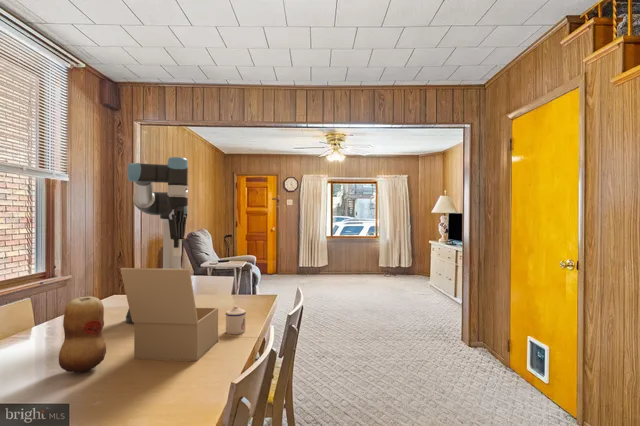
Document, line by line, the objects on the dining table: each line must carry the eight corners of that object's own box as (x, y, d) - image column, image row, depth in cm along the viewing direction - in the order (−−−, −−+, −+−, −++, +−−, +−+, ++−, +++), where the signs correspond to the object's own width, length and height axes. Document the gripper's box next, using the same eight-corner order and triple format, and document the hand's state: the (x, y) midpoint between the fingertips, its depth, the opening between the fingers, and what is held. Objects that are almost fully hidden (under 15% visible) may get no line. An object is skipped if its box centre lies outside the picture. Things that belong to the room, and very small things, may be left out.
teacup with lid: (245, 334, 172) (245, 308, 172) (224, 335, 170) (224, 308, 170) (245, 326, 183) (245, 301, 183) (226, 327, 182) (226, 302, 182)
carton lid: (133, 321, 142) (132, 322, 141) (121, 268, 135) (120, 269, 134) (198, 322, 140) (197, 324, 139) (189, 268, 133) (188, 270, 132)
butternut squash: (71, 383, 121) (71, 304, 122) (51, 374, 129) (51, 299, 129) (114, 368, 133) (114, 296, 133) (93, 360, 140) (94, 292, 140)
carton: (134, 359, 142) (134, 321, 142) (163, 339, 164) (163, 306, 164) (197, 361, 140) (197, 322, 140) (218, 341, 162) (218, 307, 162)
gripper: (179, 196, 146) (179, 258, 146) (193, 197, 159) (193, 254, 159) (160, 195, 147) (160, 257, 147) (176, 196, 160) (176, 253, 160)
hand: (177, 255), depth 153 cm, fingers closed
